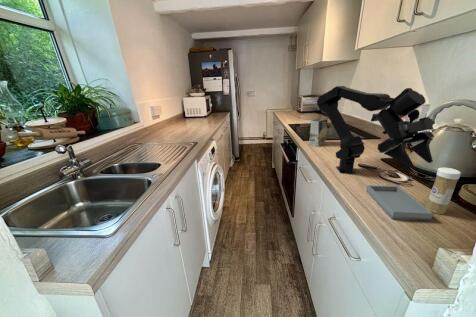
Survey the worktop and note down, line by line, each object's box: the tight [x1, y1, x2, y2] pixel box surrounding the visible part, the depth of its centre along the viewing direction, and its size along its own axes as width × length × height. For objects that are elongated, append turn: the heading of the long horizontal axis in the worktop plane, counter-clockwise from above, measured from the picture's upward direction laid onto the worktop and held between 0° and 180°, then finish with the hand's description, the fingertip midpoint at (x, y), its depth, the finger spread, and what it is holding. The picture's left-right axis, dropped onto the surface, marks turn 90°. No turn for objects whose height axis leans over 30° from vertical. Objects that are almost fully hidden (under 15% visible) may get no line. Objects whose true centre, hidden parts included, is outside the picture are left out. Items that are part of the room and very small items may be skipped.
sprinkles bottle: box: [425, 167, 462, 215], centre depth 58 cm, size 5×5×13 cm
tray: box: [365, 185, 434, 222], centre depth 64 cm, size 16×10×2 cm, turn 172°
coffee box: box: [308, 118, 329, 147], centre depth 127 cm, size 9×6×16 cm
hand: (421, 164), depth 62 cm, fingers open, 9 cm apart
